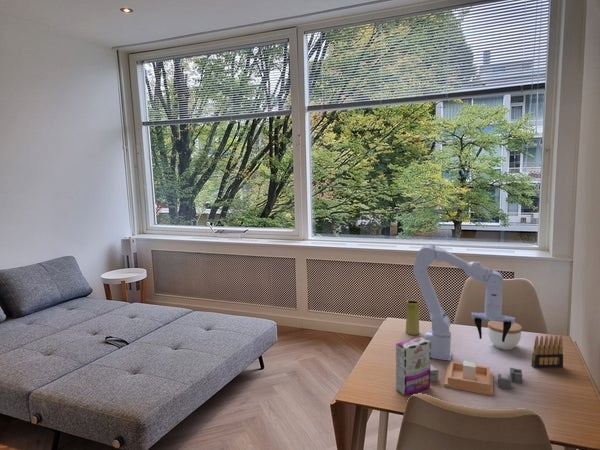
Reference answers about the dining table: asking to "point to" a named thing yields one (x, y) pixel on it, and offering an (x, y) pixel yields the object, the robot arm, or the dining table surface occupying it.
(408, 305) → the vase
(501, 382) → the clip
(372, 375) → the dining table surface
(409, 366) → the candy bar box
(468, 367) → the plain white rectangular block
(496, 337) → the lidded bowl
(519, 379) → the clip
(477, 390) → the wooden tray
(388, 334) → the dining table surface
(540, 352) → the ammunition clip
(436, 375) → the usb wall charger
